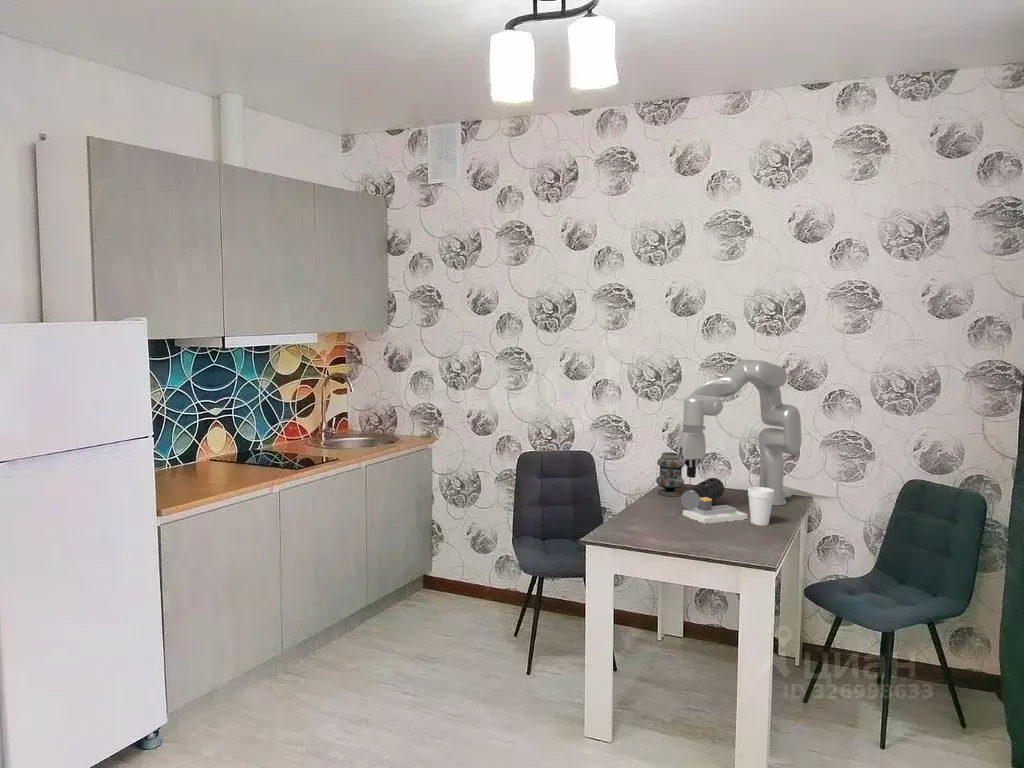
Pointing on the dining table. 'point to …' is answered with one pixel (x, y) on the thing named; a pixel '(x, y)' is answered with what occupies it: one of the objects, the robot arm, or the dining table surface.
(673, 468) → the apothecary jar
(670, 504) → the dining table surface
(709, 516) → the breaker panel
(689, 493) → the muzzle brake
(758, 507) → the foam cup
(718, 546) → the dining table surface
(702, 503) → the breaker lever
